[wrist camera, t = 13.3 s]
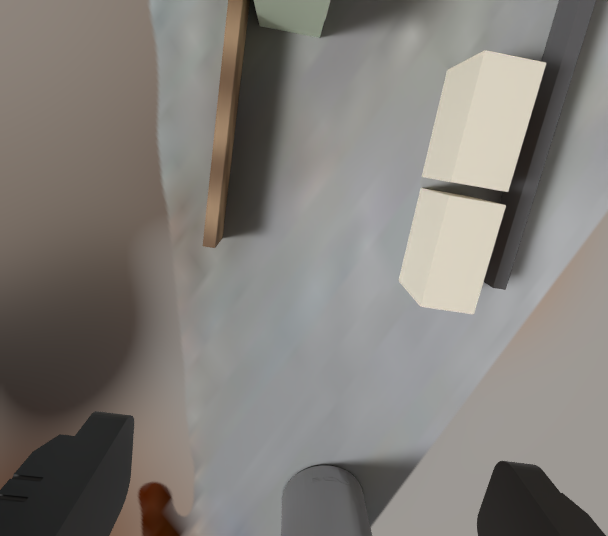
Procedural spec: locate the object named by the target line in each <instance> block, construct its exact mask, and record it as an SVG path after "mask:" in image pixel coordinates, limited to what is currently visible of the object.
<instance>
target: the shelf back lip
mask: <svg viewBox="0 0 608 536" xmlns="http://www.w3.org/2000/svg"><path fill="white" fill-rule="evenodd" d="M249 5H250V0H228V8H227V18H226V27H225V37H224V47H223V56H222V66H221V75H220V85H219V95H218V104H217V114H216V124H215V133H214V143H213V152H212V162H211V172H210V181H209V191H208V201H207V210H206V220H205V229H204V239H203V246H205V247H212V248H215V247H216V246H217V245H218V243H219V242H220V241H221V239H222V237H223V229H224V220H225V212H226V203H227V194H228V186H229V177H230V169H231V160H232V151H233V143H234V134H235V126H236V117H237V108H238V100H239V91H240V82H241V74H242V65H243V57H244V48H245V39H246V31H247V22H248V14H249Z"/></svg>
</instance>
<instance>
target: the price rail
mask: <svg viewBox="0 0 608 536" xmlns="http://www.w3.org/2000/svg"><path fill="white" fill-rule="evenodd" d="M595 2H596V0H559V3H558V6H557V10H556V13H555V17H554V20H553V23H552V27H551V30H550V34H549V37H548V41H547V44H546V47H545V51H544V54H543V58H542V61H541V62H545V63H546V66H545V70H544V73H543V76H542V80H541V83H540V86H539V90H538V93H537V96H536V100H535V103H534V107H533V110H532V113H531V117H530V120H529V123H528V127H527V130H526V134H525V137H524V140H523V144H522V147H521V150H520V154H519V157H518V160H517V164H516V167H515V171H514V174H513V177H512V181H511V184H510V187H509V191H508V192H505V191H503V195H502V198H501V201H500V204H503V205H506V208H505V211H504V214H503V218H502V221H501V224H500V228H499V231H498V234H497V238H496V241H495V245H494V248H493V251H492V255H491V258H490V261H489V265H488V268H487V271H486V275H485V278H484V282H485V283H486V284H488V285H490V286H491V287H493V288H498V289H504V290H506V286H507V283H508V280H509V277H510V274H511V270H512V267H513V264H514V261H515V258H516V254H517V251H518V248H519V245H520V242H521V239H522V235H523V232H524V229H525V226H526V223H527V219H528V216H529V213H530V210H531V207H532V203H533V200H534V197H535V194H536V191H537V187H538V184H539V181H540V178H541V175H542V171H543V168H544V165H545V162H546V159H547V155H548V152H549V149H550V146H551V143H552V139H553V136H554V133H555V130H556V127H557V123H558V120H559V117H560V114H561V111H562V107H563V104H564V101H565V98H566V95H567V92H568V88H569V85H570V82H571V79H572V76H573V72H574V69H575V66H576V63H577V60H578V56H579V53H580V50H581V47H582V44H583V40H584V37H585V34H586V31H587V28H588V24H589V21H590V18H591V15H592V12H593V8H594V5H595Z"/></svg>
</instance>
